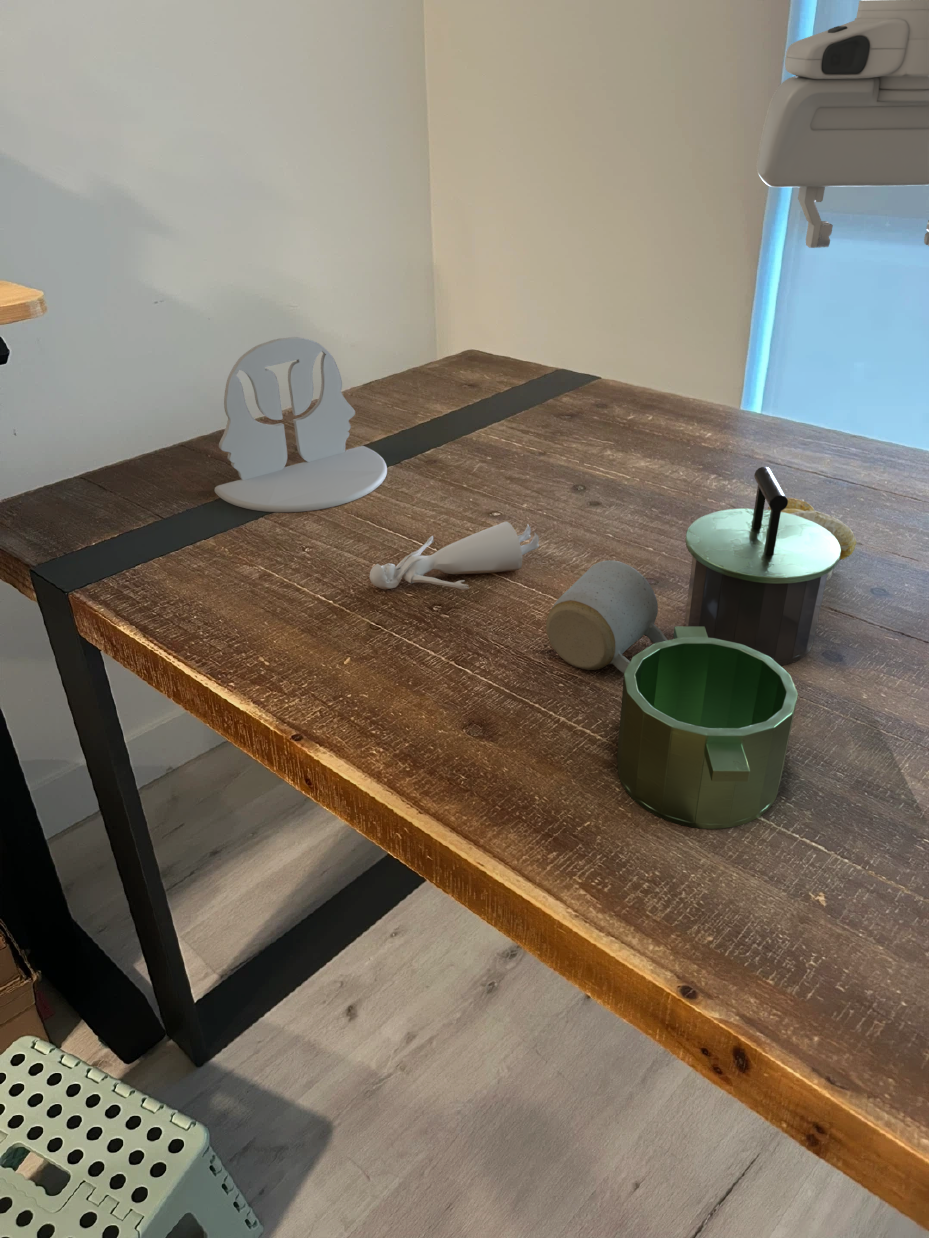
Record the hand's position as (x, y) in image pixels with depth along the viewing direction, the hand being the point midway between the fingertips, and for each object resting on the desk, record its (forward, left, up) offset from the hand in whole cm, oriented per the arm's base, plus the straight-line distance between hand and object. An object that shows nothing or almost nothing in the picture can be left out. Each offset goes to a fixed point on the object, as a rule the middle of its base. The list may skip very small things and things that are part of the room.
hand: (876, 246), depth 78 cm
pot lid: (+7, +6, -24) cm, 26 cm away
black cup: (+7, +6, -33) cm, 34 cm away
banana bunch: (-2, -9, -33) cm, 34 cm away
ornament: (+53, -27, -33) cm, 68 cm away
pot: (+15, +26, -33) cm, 45 cm away
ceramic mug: (+20, +10, -33) cm, 40 cm away
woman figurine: (+35, -5, -33) cm, 48 cm away
